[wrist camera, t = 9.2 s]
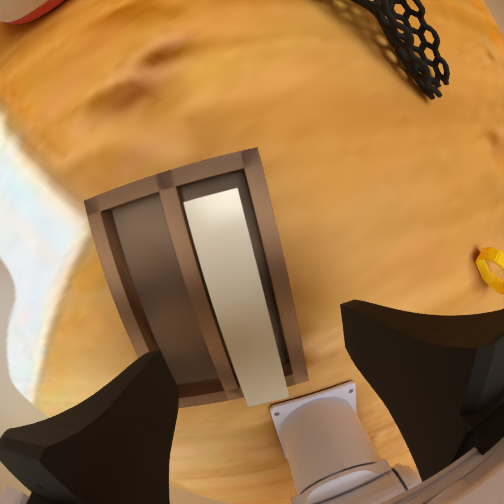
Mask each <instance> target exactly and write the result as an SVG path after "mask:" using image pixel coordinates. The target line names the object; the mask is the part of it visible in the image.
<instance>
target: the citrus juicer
mask: <svg viewBox="0 0 504 504" xmlns="http://www.w3.org/2000/svg"><path fill="white" fill-rule="evenodd" d="M63 1H64V0H0V21H1V22H3V23H8V24H23V23H28V22H30V21H33V20H35V19H37V18H39V17H41V16H42V15H44V14H46V13H47V12H49V11H50V10H52V9H53V8H55V7H56V6H57V5H59V4H60V3H61V2H63Z"/></svg>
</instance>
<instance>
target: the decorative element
mask: <svg viewBox="0 0 504 504" xmlns="http://www.w3.org/2000/svg"><path fill="white" fill-rule="evenodd" d="M351 1H353V2H355V3H357V4H359V5H361V6H362V7H364V8H366V9H367V10H369V11H370V12H371V13H372V14H373V15H374V16H375V17H376V19H377V20H378V22H379V23H380V25H381V27H382V29H383V32H384V34H385V36H386V37H387V39H388V41H389V43H390V44H391V46H392V47H393V49H394V50H395V52H396V53H397V55H398V56H399V58H400V60H401V62H402V64H403V65H404V67H405V68H406V69H407V71H408V72H409V74H410V75H411V77H412V78H413V79H414V81H415V82H416V83H417V85H418V86H419V87H420V88H421V89H422V91H423V92H424V93H425V94H426V95H427V96H428V97H429V98H430V99H431V100H432V99H434V98H435V96H434V95H433V93H434V94H435V95H436V96H437V97H441V96H442V94H441V92H440V91H439V90H438V89H437V88H435V87H433V86H432V84H431V83H433V84H435V86H436V87H441V84H440V80H442V81H443V83H444V85H448V84H449V82H448V80H449V75H450V72H449V67H448V64H447V62H446V61H445V60H444V59H443V58H442V57H441V56H440V53H439V51H438V47H439V44H440V38H439V36H438V34H437V32H436V31H435V30H434V29H433V28H432V27H431V26H429V25H428V24H427V23H426V21H425V19H424V14H425V8H424V6H423V5H422V3H421V2H420V0H413V1H414V3H415V4H416V5H417V7H418V8H419V11H418V12H417V11H414V10H412V9H411V8H410V7H409V5H408V4H407V2H406V0H374V1H370V0H351ZM380 2H381V4H380ZM395 4H401V5H402V6H403V8H404V9H405V12H404V13H403V15H400V14H398V13H396V12H395V10H394V6H395ZM410 15H413V16H415V17H417V18H418V20H419V22H420V24H421V25H420V27H419V29H418V30H417V29H415V28H413V27H411V25H410V23H409V21H408V19H409V17H410ZM385 16H386V17H387V18H386V17H385ZM396 19H398V20H401V21H402V22H403V24H402V23H400V22H398V21H396ZM397 28H398V29H400V30H402V31H404V33H403V34H401V33H399V32H398V30H397ZM426 30H428V31H430V32H431V33H432V35H433V37H434V42H433V44H431V43H429V42H427V41H426V39H425V36H424V33H425V31H426ZM412 33H413V34H416V35H418V37H419V39H420V41H421V44H420V46H419V47H416V46H414V45H413V44H414V36H413V34H412ZM399 39H402V40H404V42H405V43H404V42H402V41H401V40H399ZM426 47H428V48H430V49H431V50H432V51H433V53H434V56H435V58H434V60H433V61H431V60H429V59H427V57H426V55H425V53H424V50H425V49H426ZM403 49H404V50H405V51H404V50H403ZM413 51H415V52H417V53H419V55H420V57H421V59H420V58H418V57H416V56H415V54H414V53H413ZM439 63H441V64H442V65H443V69H444V75H442V74H441V72H440V70H439V68H438V65H439ZM428 65H429V66H431V67H433V70H434V72H435V78H433V77H431V76H430V75H431V74H430V69H429V67H428ZM418 70H420V71H421V72H422V73H423V75H422V74H421V73H419V72H418Z"/></svg>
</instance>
